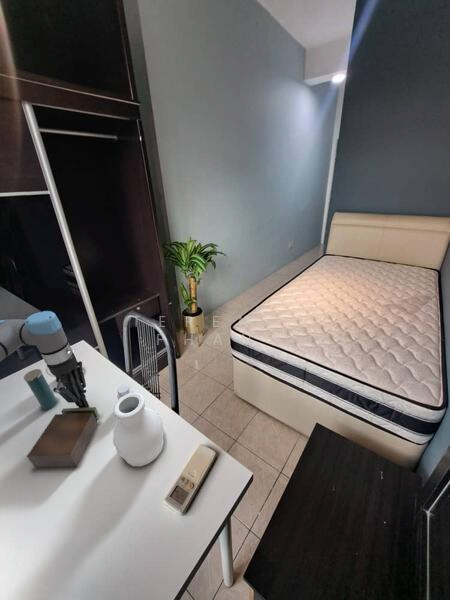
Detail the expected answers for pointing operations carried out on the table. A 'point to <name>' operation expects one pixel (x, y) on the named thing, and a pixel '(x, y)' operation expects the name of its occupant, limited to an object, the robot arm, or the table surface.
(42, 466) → the drawer cabinet
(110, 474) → the table surface
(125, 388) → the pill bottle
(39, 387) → the tin
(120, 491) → the table surface
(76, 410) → the drawer
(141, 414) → the vase
